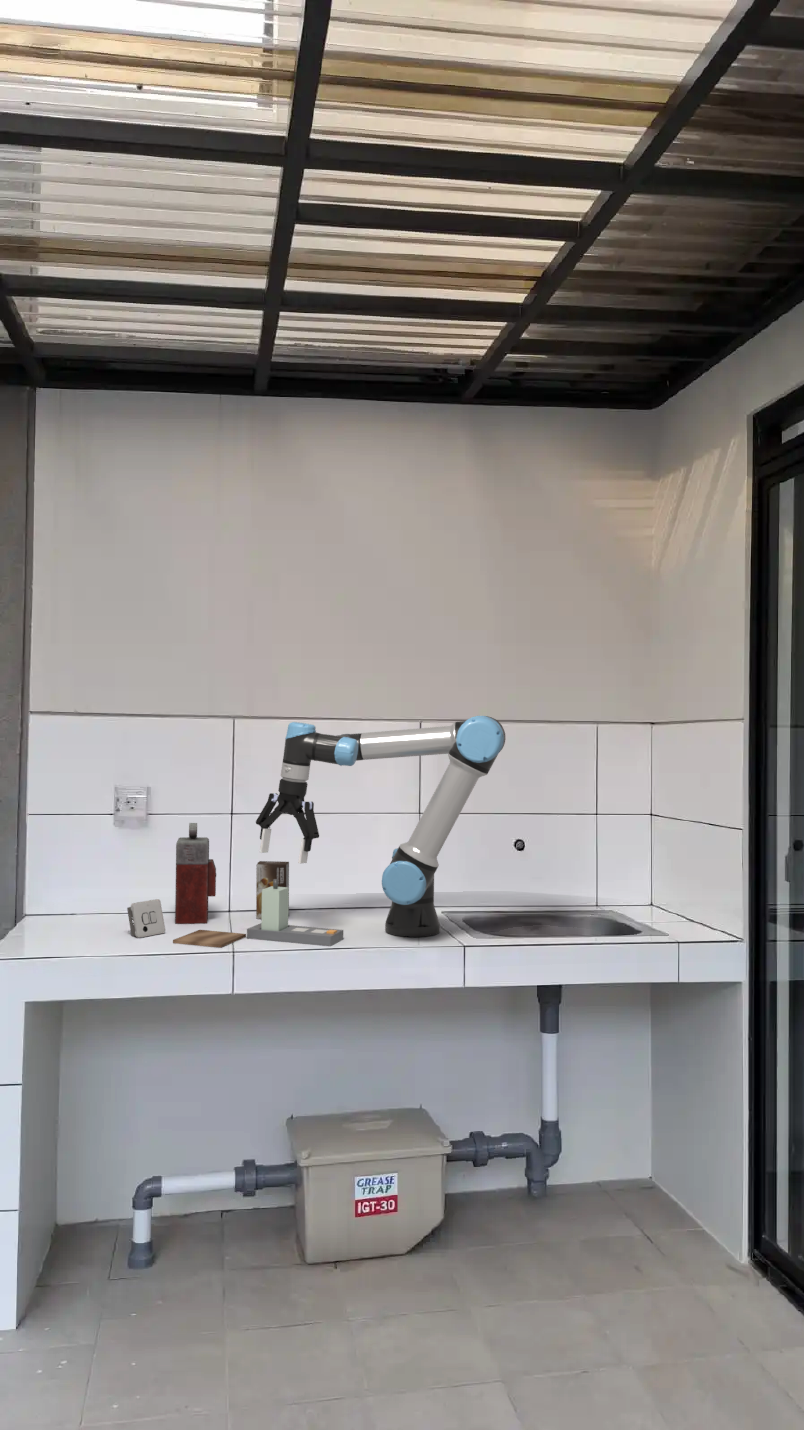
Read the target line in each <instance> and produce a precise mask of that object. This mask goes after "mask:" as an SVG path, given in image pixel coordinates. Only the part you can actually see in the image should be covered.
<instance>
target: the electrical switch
mask: <svg viewBox="0 0 804 1430" xmlns="http://www.w3.org/2000/svg"><path fill="white" fill-rule="evenodd" d="M126 910H127V917H128V922H129V923H128V924H129V928H130V934H131V937H136V938H137V939H142V938H146V937H152V936H157V935H162V934H164V933H165V932H166V925H165V920H164V914H163V913H164V912H163V908H162V902H161V900H160V899H157V898H156V899H150V900H144V901H138V902H133V903H132V902H131V904H130V906H128V907H127V908H126Z"/></svg>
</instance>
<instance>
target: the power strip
mask: <svg viewBox="0 0 804 1430" xmlns="http://www.w3.org/2000/svg"><path fill="white" fill-rule="evenodd" d="M261 923H262V922H260V923H258V924H255V925H253V926H251V927H248V928H246V939H251V940H260V941H261V940H262V941H272V942H283V943H290V944H291V943H293V944H294V943H295V944H303V945H315V946H326V947H331V946H333V945H335V944H337V943H339V942H341V941H343V940H344V929H339V928H326V927H325V928H324V927H318V926H317V927H314V926H303V925H291V924H288V928H285V929H283V930H281V931H273V930H262V929H261Z"/></svg>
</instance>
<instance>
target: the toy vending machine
mask: <svg viewBox="0 0 804 1430" xmlns="http://www.w3.org/2000/svg"><path fill="white" fill-rule="evenodd" d="M216 889H217V867H216V865H215V862H214V859H211V858H210V839H209V838H208V837H205V836H204V837H202V836H201V837H198V822H189V823H188V837H178V839H177V842H176V844H175V896H174V897H175V898H174V899H175V900H174V901H175V903H174V904H175V905H174V906H175V907H174V909H175V910H174V924H175V925H190V924H191V925H192V924H193V925H196V924H197V925H199V924H208V922H209V897H216V895H217V892H216Z"/></svg>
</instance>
